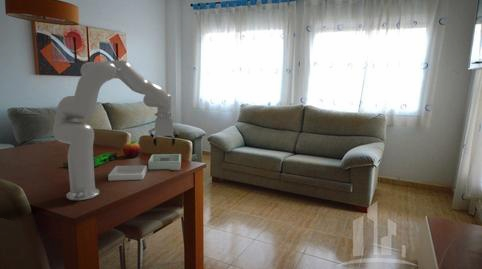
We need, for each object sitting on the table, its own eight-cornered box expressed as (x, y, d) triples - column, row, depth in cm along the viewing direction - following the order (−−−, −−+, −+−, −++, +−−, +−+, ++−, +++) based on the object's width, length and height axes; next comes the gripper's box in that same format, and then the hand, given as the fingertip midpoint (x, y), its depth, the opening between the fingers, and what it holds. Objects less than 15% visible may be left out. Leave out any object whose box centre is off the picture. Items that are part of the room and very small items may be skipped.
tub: (142, 181, 153) (142, 174, 152) (108, 182, 150) (108, 175, 149) (147, 171, 168) (146, 165, 167) (116, 172, 166) (116, 166, 165)
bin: (179, 169, 172) (179, 161, 171) (148, 170, 170) (148, 162, 169) (180, 162, 189) (180, 154, 188) (152, 162, 186) (152, 154, 185)
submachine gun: (48, 162, 170) (90, 162, 166) (83, 152, 198) (119, 151, 195) (49, 171, 170) (91, 171, 167) (83, 159, 199) (119, 159, 195)
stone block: (169, 165, 177) (169, 157, 176) (160, 166, 176) (160, 157, 175) (170, 163, 182) (170, 155, 181) (161, 163, 181) (161, 155, 180)
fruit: (119, 157, 197) (119, 142, 195) (131, 154, 207) (130, 139, 205) (133, 159, 193) (133, 143, 191) (144, 155, 203) (144, 140, 201)
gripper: (147, 115, 169) (147, 146, 171) (179, 116, 172) (179, 146, 174) (149, 114, 176) (149, 144, 179) (180, 115, 179) (179, 144, 182)
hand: (164, 145), depth 176 cm, fingers open, 9 cm apart
